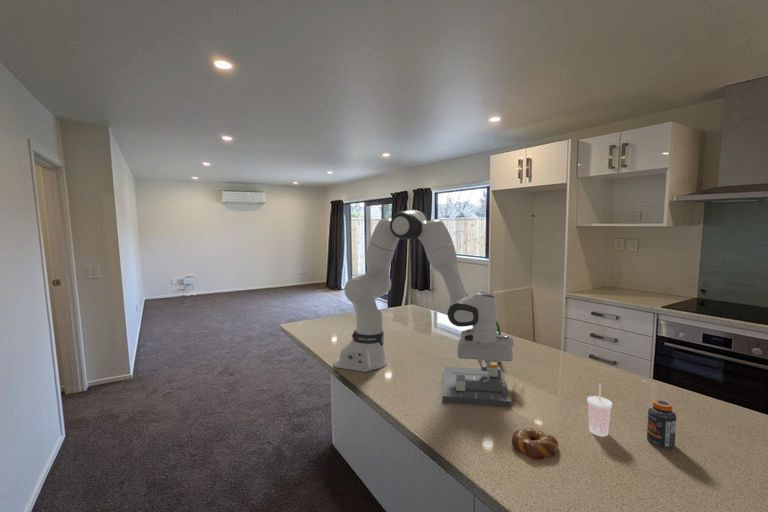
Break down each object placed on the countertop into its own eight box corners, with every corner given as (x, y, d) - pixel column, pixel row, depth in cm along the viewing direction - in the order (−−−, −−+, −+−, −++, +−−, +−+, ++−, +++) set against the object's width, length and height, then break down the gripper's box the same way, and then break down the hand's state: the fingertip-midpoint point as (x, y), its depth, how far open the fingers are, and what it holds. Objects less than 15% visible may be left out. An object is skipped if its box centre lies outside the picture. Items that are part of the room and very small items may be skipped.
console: (442, 401, 120) (442, 387, 119) (445, 371, 145) (445, 359, 145) (511, 407, 115) (511, 392, 115) (501, 374, 141) (501, 362, 140)
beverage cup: (601, 440, 97) (603, 390, 96) (581, 428, 103) (582, 381, 102) (616, 434, 99) (618, 386, 98) (595, 423, 105) (597, 377, 104)
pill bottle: (641, 437, 98) (642, 397, 97) (661, 436, 99) (663, 396, 98) (659, 450, 92) (661, 408, 91) (681, 449, 93) (683, 407, 92)
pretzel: (547, 435, 100) (547, 423, 100) (568, 461, 89) (568, 446, 89) (504, 436, 100) (504, 424, 99) (520, 462, 89) (520, 448, 88)
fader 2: (489, 376, 134) (489, 365, 133) (488, 372, 138) (488, 362, 137) (497, 376, 133) (497, 366, 133) (496, 372, 137) (496, 362, 137)
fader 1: (456, 390, 122) (456, 379, 122) (456, 385, 126) (456, 374, 126) (465, 391, 122) (465, 379, 122) (464, 386, 126) (465, 375, 125)
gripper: (512, 333, 136) (511, 369, 137) (457, 331, 140) (457, 365, 141) (514, 338, 130) (514, 375, 131) (457, 336, 134) (457, 372, 135)
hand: (484, 370), depth 136 cm, fingers closed
